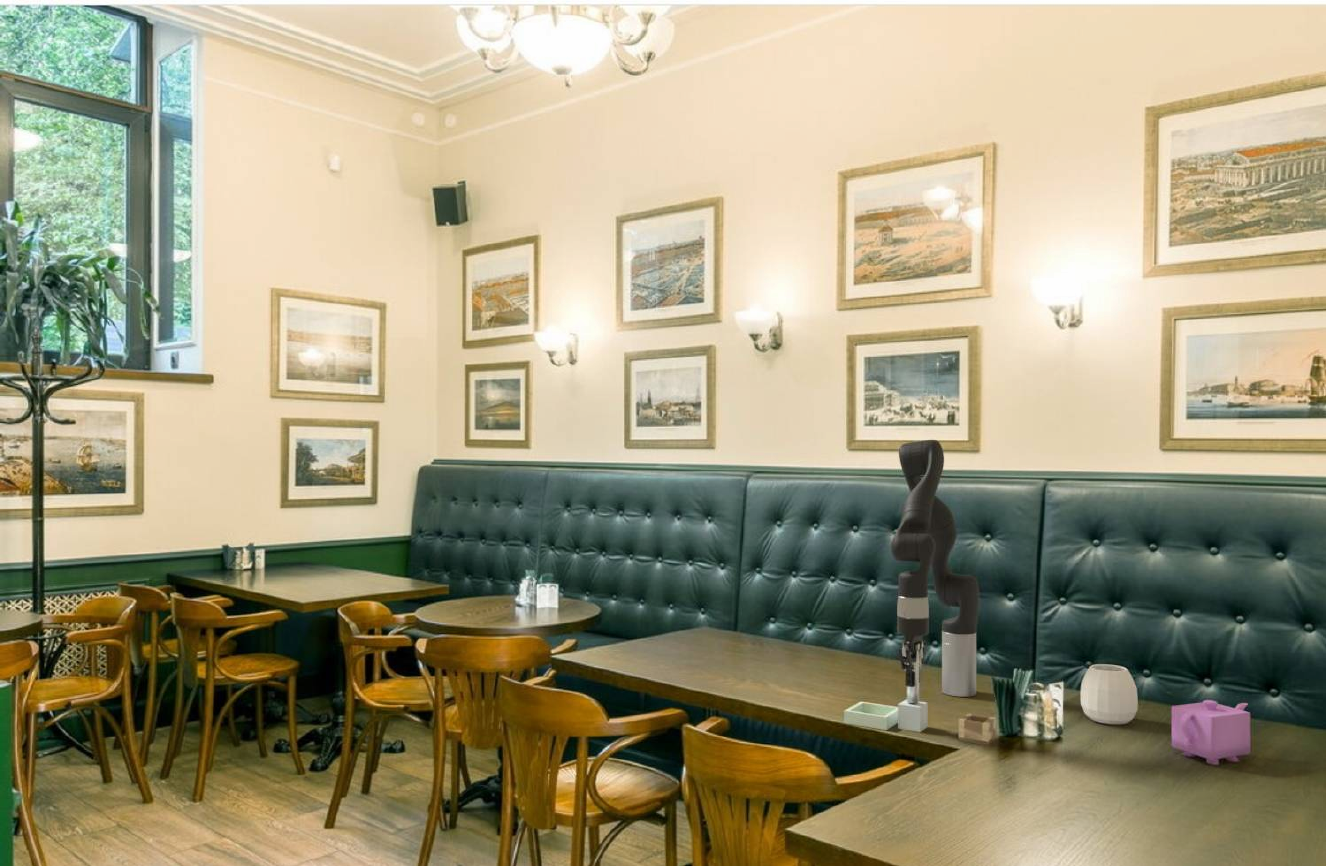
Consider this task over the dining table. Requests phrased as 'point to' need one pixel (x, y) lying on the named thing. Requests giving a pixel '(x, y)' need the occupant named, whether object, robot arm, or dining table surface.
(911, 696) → the cylinder
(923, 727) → the white cube
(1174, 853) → the dining table surface
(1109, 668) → the white vase
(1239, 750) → the teapot
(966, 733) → the oak block
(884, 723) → the tray
